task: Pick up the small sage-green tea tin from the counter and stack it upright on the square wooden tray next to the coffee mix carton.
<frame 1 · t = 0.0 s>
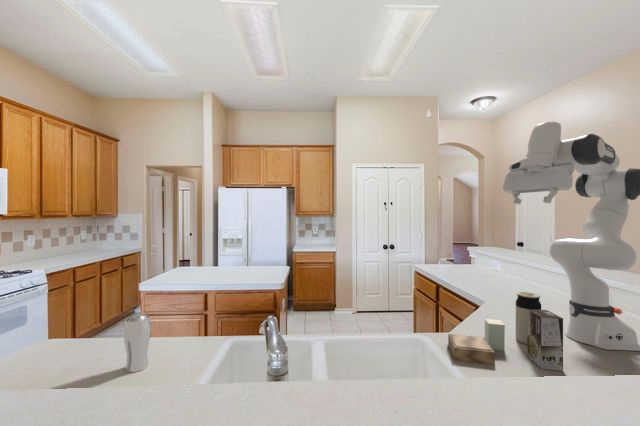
hand: (531, 203, 100), 52 cm above the counter, tool tilted 20°, fingers open, 8 cm apart
coffee box: (544, 363, 95), on the counter
tea tin: (494, 346, 107), on the counter
square wooden tray: (469, 354, 101), on the counter
travel mug: (528, 341, 112), on the counter
beer glass: (136, 368, 90), on the counter
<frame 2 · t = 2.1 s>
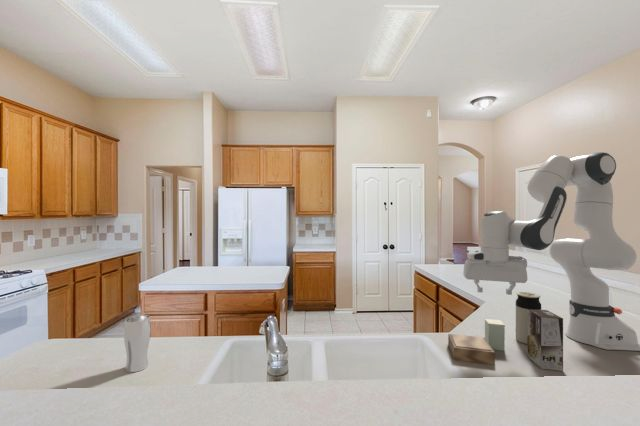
hand: (494, 293, 107), 19 cm above the counter, tool pointing down, fingers open, 8 cm apart
nothing on the counter moved.
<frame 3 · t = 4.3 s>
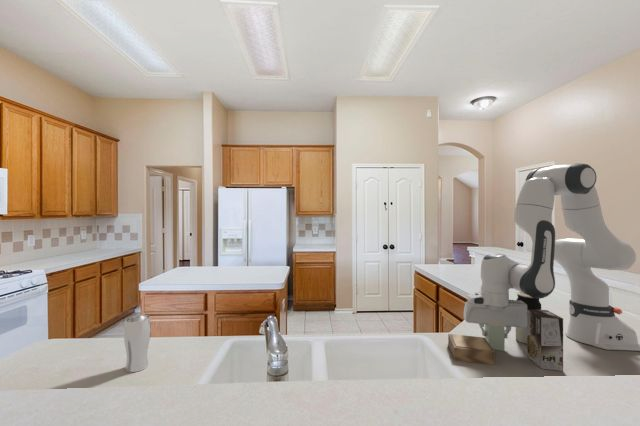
hand: (494, 336, 107), 4 cm above the counter, tool pointing down, fingers closed on tea tin, 5 cm apart
tea tin: (494, 346, 107), on the counter, touching gripper
everything else where it was.
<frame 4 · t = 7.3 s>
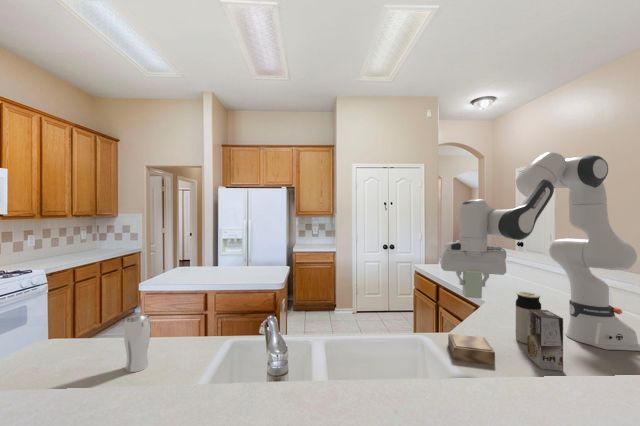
hand: (471, 285, 102), 23 cm above the counter, tool pointing down, fingers closed on tea tin, 5 cm apart
tea tin: (471, 296, 102), point 20 cm above the counter, touching gripper
everything else where it was.
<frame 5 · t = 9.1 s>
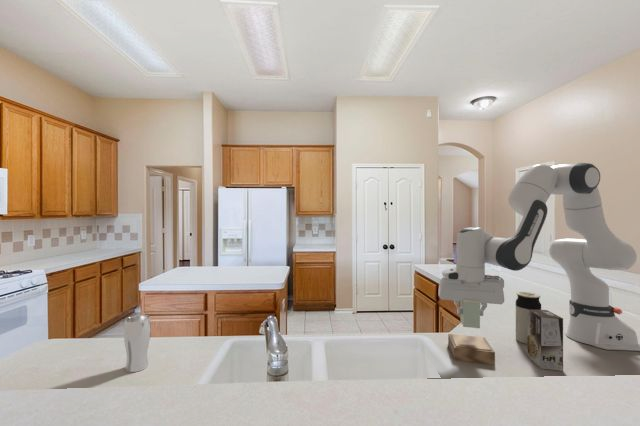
hand: (469, 314, 101), 14 cm above the counter, tool pointing down, fingers closed on tea tin, 5 cm apart
tea tin: (469, 325, 101), point 10 cm above the counter, touching gripper
everything else where it was.
when the fingers open (9 cm above the counter, at t = 10.4 s): tea tin stays where it is, resting on square wooden tray.
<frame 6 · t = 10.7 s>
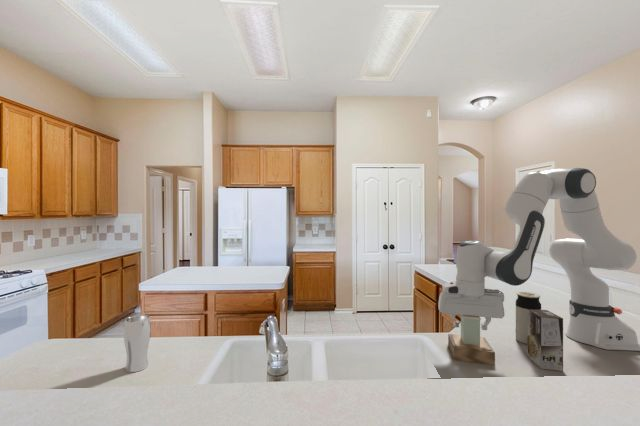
hand: (470, 328, 101), 9 cm above the counter, tool pointing down, fingers open, 7 cm apart
tea tin: (470, 341, 101), point 4 cm above the counter, touching square wooden tray
everything else where it was.
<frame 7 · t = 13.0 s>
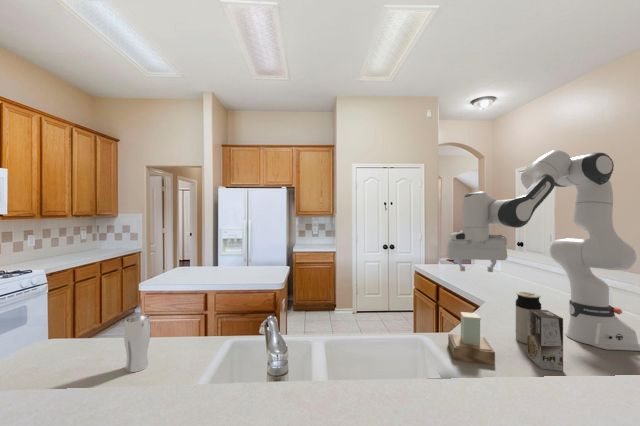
hand: (476, 271, 111), 27 cm above the counter, tool pointing down, fingers open, 8 cm apart
nothing on the counter moved.
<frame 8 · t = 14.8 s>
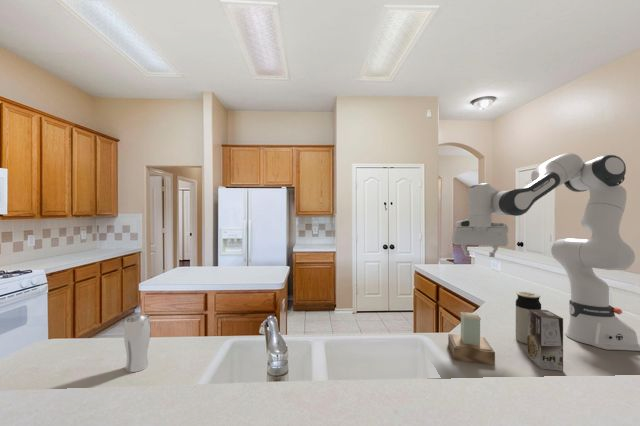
hand: (479, 256, 121), 31 cm above the counter, tool pointing down, fingers open, 8 cm apart
nothing on the counter moved.
at the end: tea tin inside the target area on the square wooden tray (0.1 cm from its centre), point 4.3 cm above the square wooden tray's base; tea tin tilted 0°; tea tin touching square wooden tray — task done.
